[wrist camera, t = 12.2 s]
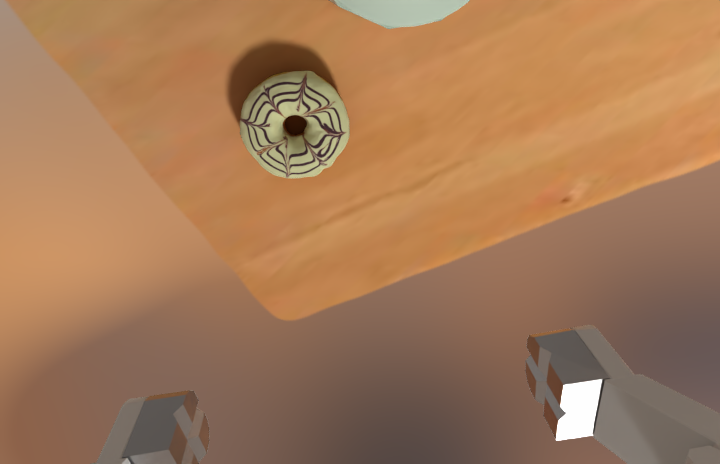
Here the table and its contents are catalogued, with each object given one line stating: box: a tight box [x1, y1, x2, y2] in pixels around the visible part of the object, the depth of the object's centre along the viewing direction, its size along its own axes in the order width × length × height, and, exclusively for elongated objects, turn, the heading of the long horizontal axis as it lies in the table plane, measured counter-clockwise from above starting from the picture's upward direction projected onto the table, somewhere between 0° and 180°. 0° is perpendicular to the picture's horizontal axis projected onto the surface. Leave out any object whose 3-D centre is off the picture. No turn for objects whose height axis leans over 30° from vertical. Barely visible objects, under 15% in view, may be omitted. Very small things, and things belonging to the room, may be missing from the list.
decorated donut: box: [240, 71, 350, 179], centre depth 46 cm, size 10×11×4 cm
